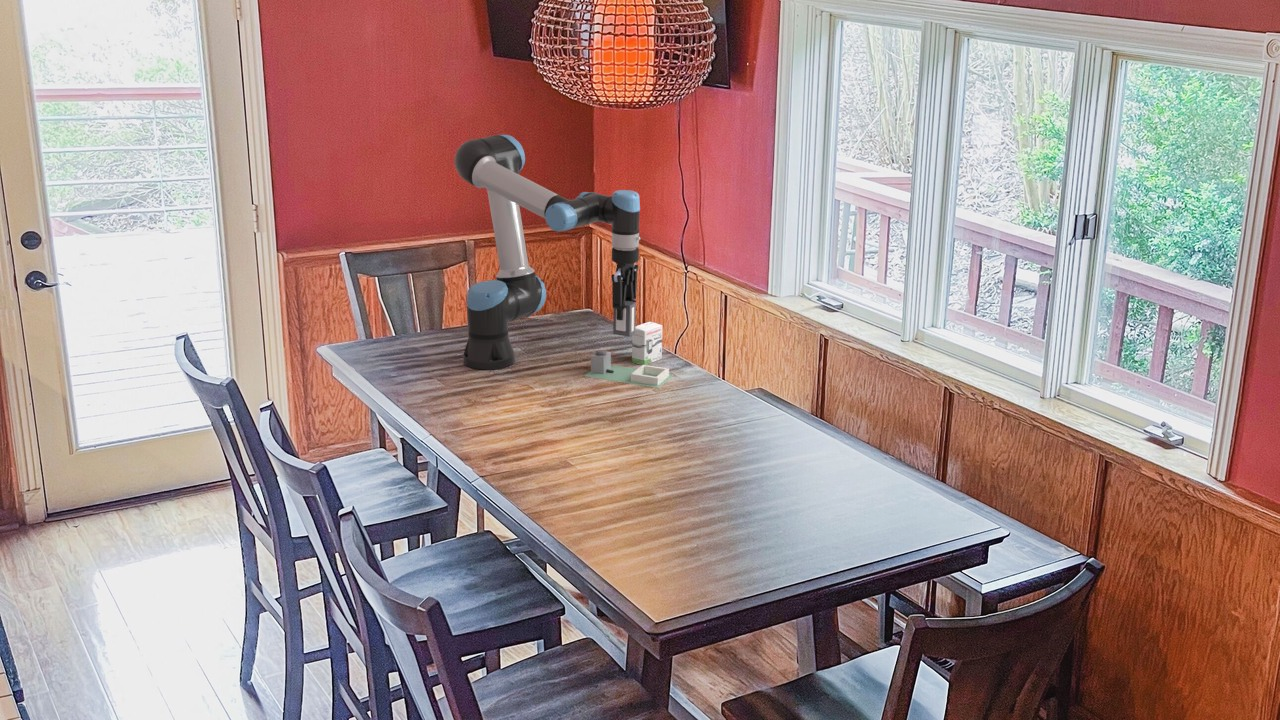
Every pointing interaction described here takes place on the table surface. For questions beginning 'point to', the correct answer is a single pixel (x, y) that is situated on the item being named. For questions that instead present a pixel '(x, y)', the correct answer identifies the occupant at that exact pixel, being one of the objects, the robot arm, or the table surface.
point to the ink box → (647, 343)
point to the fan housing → (601, 362)
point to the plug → (629, 319)
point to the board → (623, 376)
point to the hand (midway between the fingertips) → (624, 327)
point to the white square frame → (640, 378)
